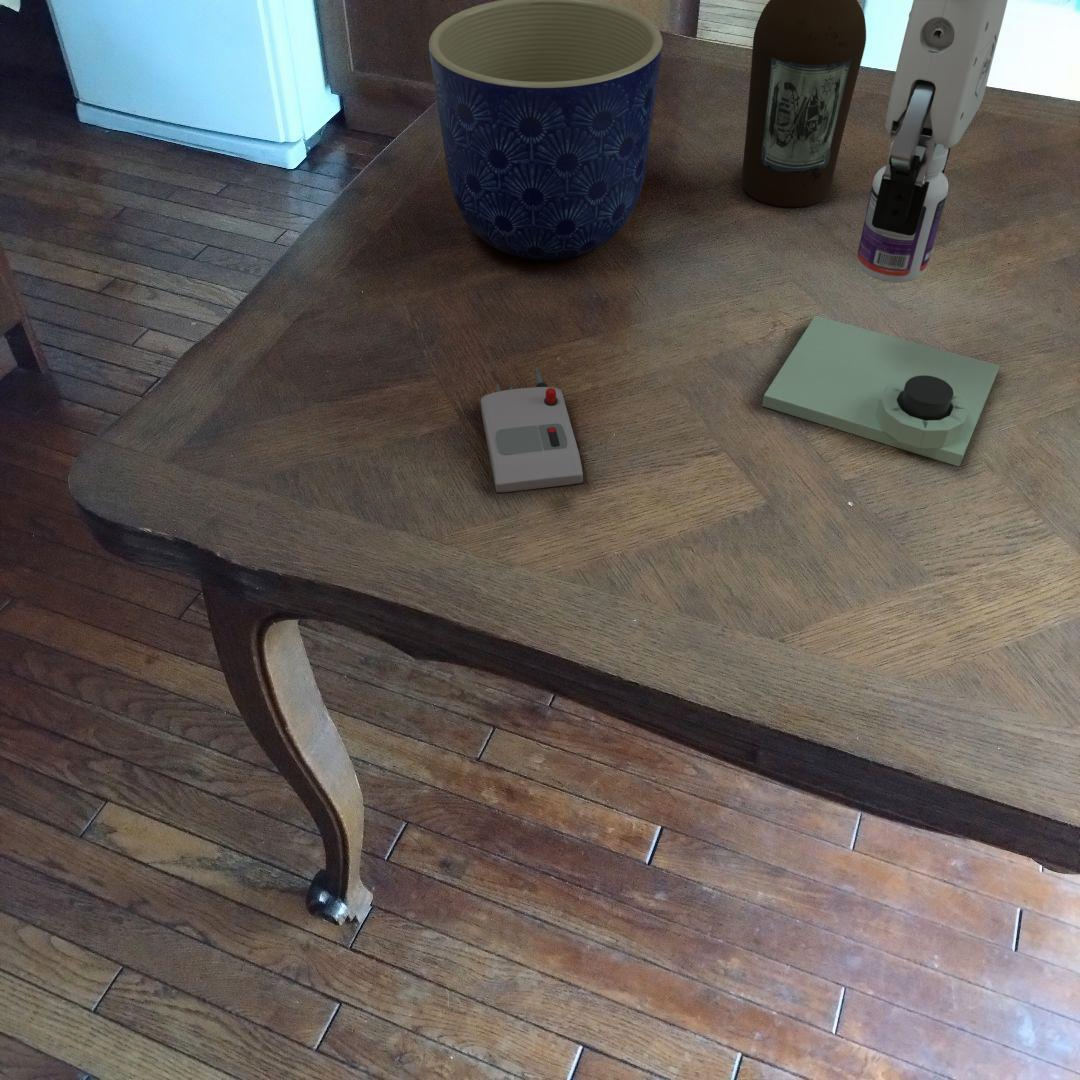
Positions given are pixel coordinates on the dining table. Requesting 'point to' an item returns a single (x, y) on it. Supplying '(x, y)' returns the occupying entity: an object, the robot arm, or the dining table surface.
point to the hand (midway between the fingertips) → (905, 208)
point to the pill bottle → (898, 252)
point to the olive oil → (800, 97)
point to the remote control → (530, 438)
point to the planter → (546, 120)
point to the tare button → (926, 398)
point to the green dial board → (879, 388)
